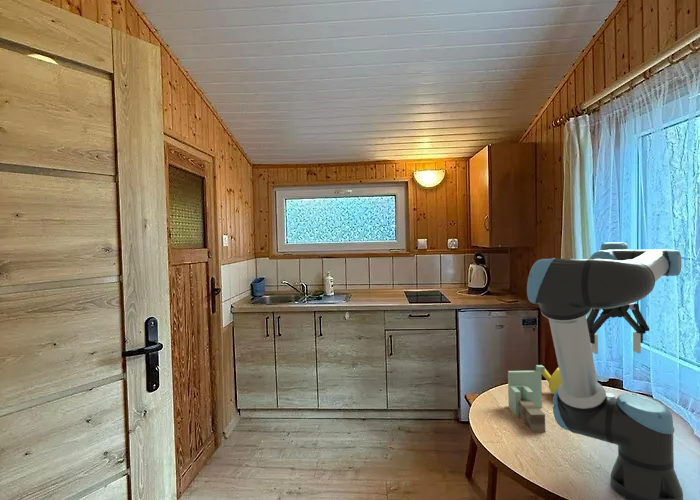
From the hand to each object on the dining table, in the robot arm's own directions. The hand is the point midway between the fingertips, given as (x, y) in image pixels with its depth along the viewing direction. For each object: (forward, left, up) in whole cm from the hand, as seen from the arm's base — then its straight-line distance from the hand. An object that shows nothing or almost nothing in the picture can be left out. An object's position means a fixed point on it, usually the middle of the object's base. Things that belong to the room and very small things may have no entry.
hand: (615, 352), depth 137 cm
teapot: (+21, +22, -27) cm, 41 cm away
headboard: (-1, +28, -27) cm, 39 cm away
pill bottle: (+6, +4, -27) cm, 28 cm away
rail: (-10, +25, -27) cm, 38 cm away
